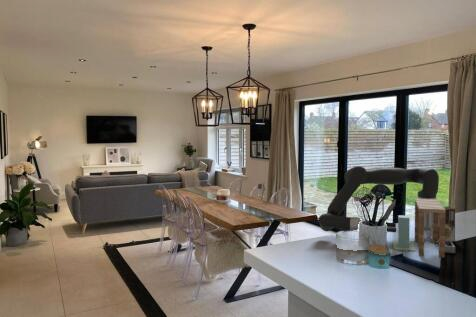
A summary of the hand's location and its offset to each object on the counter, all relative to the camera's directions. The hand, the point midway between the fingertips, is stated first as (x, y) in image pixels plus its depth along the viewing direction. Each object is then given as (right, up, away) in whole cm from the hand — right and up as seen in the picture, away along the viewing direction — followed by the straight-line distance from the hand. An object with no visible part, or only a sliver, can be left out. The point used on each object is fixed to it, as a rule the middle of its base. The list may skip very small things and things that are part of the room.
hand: (396, 227), depth 171 cm
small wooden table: (+13, -9, -4) cm, 16 cm away
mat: (+3, -9, 0) cm, 9 cm away
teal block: (+3, -8, 0) cm, 9 cm away
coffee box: (+27, -8, +8) cm, 29 cm away
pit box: (+21, -9, -7) cm, 24 cm away
